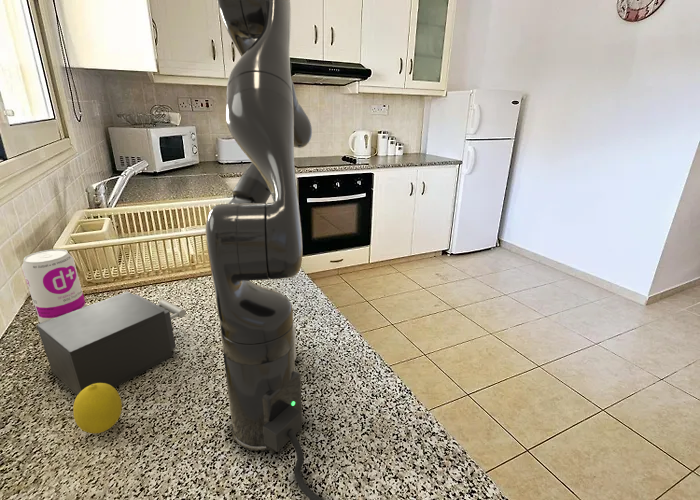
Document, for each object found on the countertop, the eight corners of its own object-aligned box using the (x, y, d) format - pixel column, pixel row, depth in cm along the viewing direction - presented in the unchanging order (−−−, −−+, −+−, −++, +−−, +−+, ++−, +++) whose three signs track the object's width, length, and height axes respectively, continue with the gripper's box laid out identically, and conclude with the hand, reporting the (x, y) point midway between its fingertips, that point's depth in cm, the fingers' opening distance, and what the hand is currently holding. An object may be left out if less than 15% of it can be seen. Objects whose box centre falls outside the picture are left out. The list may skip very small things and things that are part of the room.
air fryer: (136, 333, 76) (127, 291, 72) (172, 356, 69) (164, 310, 66) (51, 372, 64) (36, 324, 61) (85, 403, 58) (69, 352, 54)
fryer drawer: (163, 318, 79) (157, 285, 77) (196, 336, 73) (190, 302, 71) (67, 362, 66) (55, 324, 63) (98, 388, 60) (86, 348, 57)
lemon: (105, 449, 50) (92, 403, 47) (71, 442, 51) (55, 396, 48) (135, 418, 55) (124, 375, 53) (103, 412, 56) (91, 369, 54)
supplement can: (95, 317, 81) (79, 253, 75) (51, 335, 74) (29, 267, 69) (77, 306, 85) (60, 245, 79) (34, 323, 78) (12, 257, 73)
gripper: (227, 171, 86) (186, 235, 81) (268, 177, 79) (226, 248, 74) (247, 190, 92) (210, 250, 87) (286, 198, 85) (249, 264, 80)
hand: (217, 249), depth 80 cm, fingers closed
